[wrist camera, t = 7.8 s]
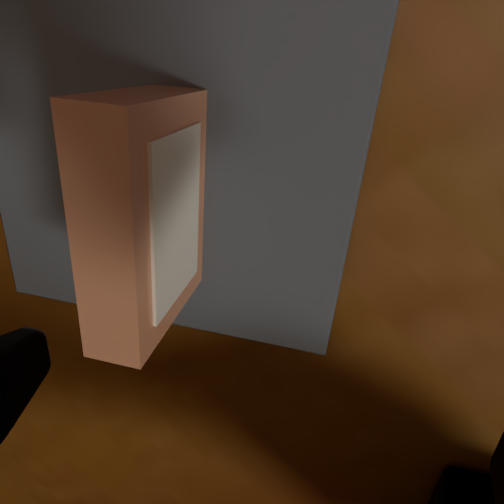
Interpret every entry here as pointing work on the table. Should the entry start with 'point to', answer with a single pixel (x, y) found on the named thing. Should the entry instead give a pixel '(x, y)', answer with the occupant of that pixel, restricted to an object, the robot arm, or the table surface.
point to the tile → (132, 211)
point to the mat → (209, 141)
